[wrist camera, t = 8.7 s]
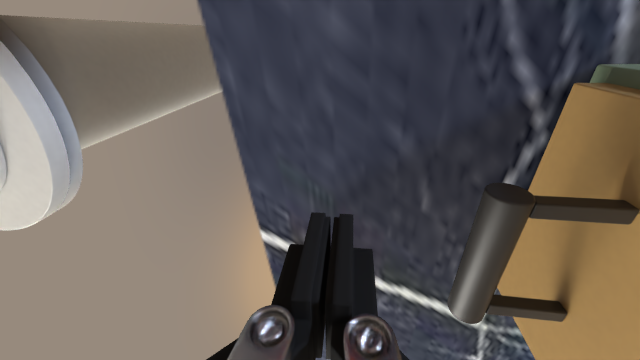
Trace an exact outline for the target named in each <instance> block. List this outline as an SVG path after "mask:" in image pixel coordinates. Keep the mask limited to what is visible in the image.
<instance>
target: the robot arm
mask: <svg viewBox="0 0 640 360" xmlns="http://www.w3.org/2000/svg"><path fill="white" fill-rule="evenodd" d="M6 177H7V165H6V159H5V155H4V152H3V148H2V145H1V143H0V191H1V189H2V188H3V187H4V184H5V181H6ZM325 326H326V359H331V360H409V359H408V358H407V357H406V356H405V355H404V354H403V353H402V352H401V351H400V350H399V347H398V344H397V340H396V337H395V334H394V332H393V330H392V328H391V327H390V326H389V324H388V323H387V322H386V321H385V320H383V319H382V318H381V317H379V316H378V313H377V301H376V289H375V276H374V264H373V252H372V249H361V248H353V215H352V214H340V217H334V225H333V234H332V243H331V235H330V217H326V216H325V213H311V217H310V221H309V225H308V229H307V233H306V238H305V242H304V245H298V244H291V245H290V246H289V249H288V252H287V255H286V258H285V262H284V265H283V268H282V271H281V275H280V278H279V281H278V285H277V288H276V291H275V294H274V298H273V301H272V304H271V305H269V306H265V307H263V308H261V309H259V310H257V311H256V312H255V313H254V314H252V316H251V317H250V318H249V320H248V321H247V323H246V325H245V327H244V329H243V330H242V332H241V334H240V336H239V338H238V339H236V340H235V341H233V342H232V343H230V344H229V345H227V346H226V347H224V348H223V349H221V350H220V351H218V352H217V353H216V354H214V355H213V356H211V357H210V358H208V359H207V360H315V359H316V358H321V357H322V349H323V339H324V329H325Z"/></svg>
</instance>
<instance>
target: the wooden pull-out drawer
mask: <svg viewBox="0 0 640 360" xmlns="http://www.w3.org/2000/svg"><path fill="white" fill-rule="evenodd" d="M496 288H498V290H499V292H500V293H501V295H494V293H495V290H496ZM448 307H449V310H450V311H451V313H452V314H453V315H454V316H455V317H456V318H458V319H459V320H461V321H463V322H465V323H469V324H475V323H478V322H480V321H481V320H482V319H483V317H484V315H485V312H486V313H487V314H493V315H502V316H511V317H513V318H514V320H515V322H516V324H517V326H518V327H519V329H520V331H521V333H522V335H523V337H524V339H525V341H526V343H527V344H528V346H529V348H530V350H531V352H532V354H533V356H534V358H535V360H640V90H639V89H634V88H629V87H624V86H619V85H614V84H609V83H574V85H573V87H572V89H571V92H570V94H569V96H568V99H567V101H566V103H565V106H564V108H563V110H562V113H561V115H560V117H559V120H558V122H557V124H556V127H555V129H554V131H553V134H552V136H551V138H550V141H549V143H548V145H547V148H546V150H545V152H544V155H543V157H542V160H541V162H540V164H539V167H538V169H537V171H536V174H535V176H534V178H533V181H532V183H531V185H530V188H529V190H528V191H527V190H525V189H523V188H521V187H518V186H515V185H511V184H506V183H492V184H489V185H487V186H486V187H485V190H484V193H483V196H482V199H481V202H480V205H479V208H478V211H477V214H476V217H475V220H474V223H473V226H472V229H471V232H470V235H469V238H468V241H467V244H466V247H465V250H464V253H463V256H462V259H461V262H460V265H459V268H458V271H457V274H456V277H455V280H454V283H453V286H452V289H451V292H450V295H449V298H448Z"/></svg>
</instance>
